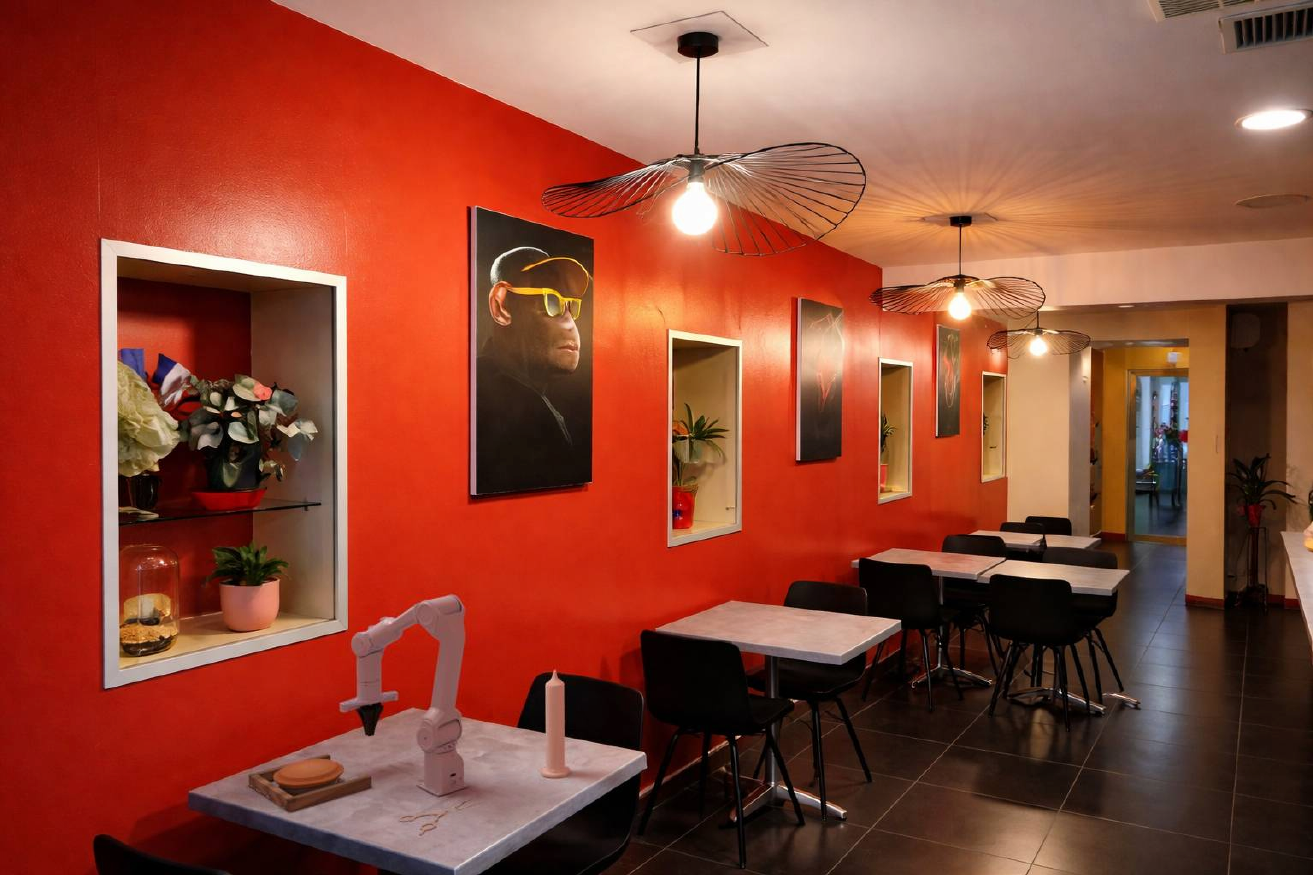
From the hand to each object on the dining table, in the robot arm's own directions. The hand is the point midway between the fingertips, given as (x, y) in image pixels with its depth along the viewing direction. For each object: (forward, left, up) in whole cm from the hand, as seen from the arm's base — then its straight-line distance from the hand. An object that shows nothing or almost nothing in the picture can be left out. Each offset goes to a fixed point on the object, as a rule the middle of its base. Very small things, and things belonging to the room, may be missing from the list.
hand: (369, 734), depth 230 cm
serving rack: (0, +15, -8) cm, 17 cm away
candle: (-35, -30, -9) cm, 47 cm away
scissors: (-36, +2, -9) cm, 37 cm away
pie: (0, +16, -9) cm, 18 cm away
